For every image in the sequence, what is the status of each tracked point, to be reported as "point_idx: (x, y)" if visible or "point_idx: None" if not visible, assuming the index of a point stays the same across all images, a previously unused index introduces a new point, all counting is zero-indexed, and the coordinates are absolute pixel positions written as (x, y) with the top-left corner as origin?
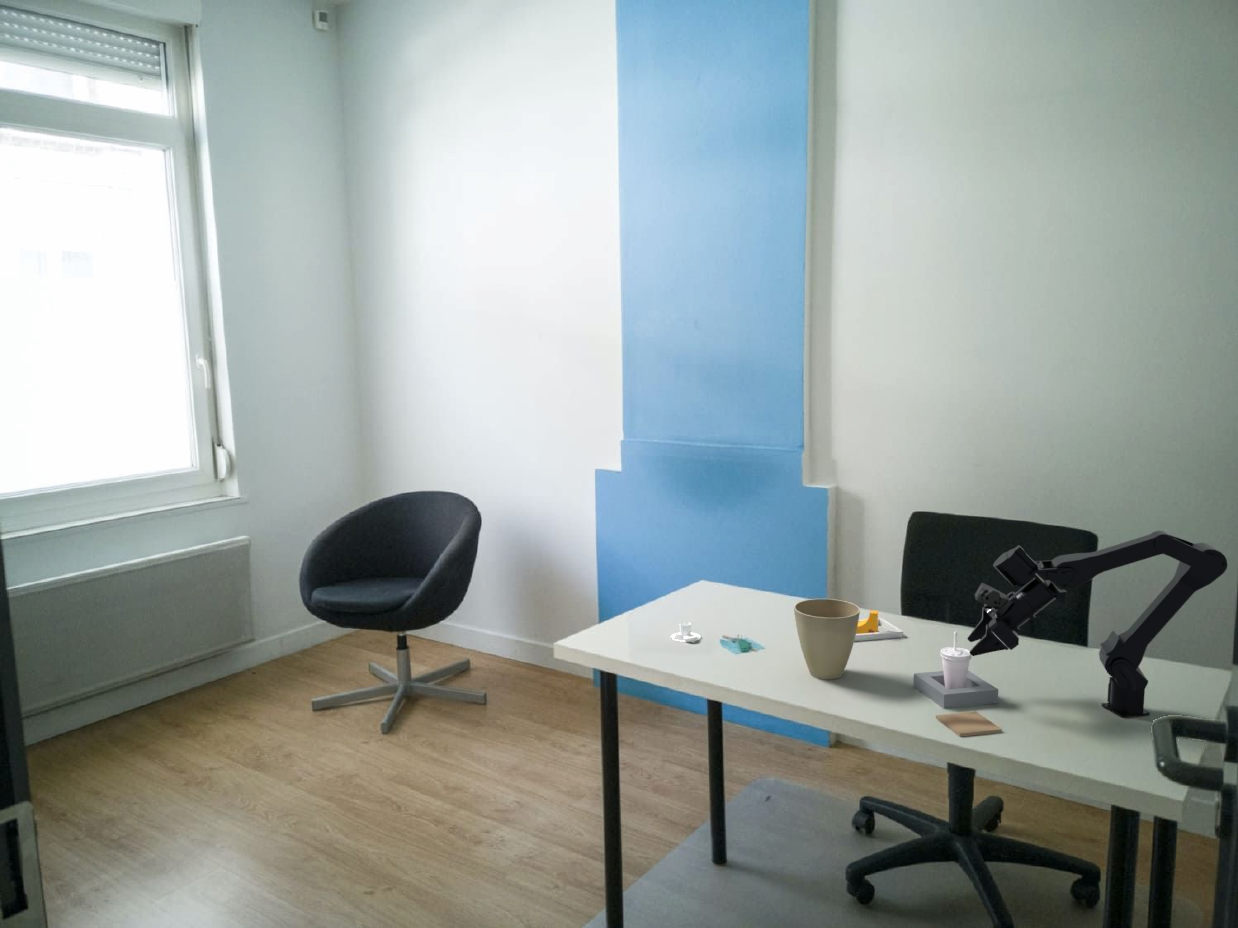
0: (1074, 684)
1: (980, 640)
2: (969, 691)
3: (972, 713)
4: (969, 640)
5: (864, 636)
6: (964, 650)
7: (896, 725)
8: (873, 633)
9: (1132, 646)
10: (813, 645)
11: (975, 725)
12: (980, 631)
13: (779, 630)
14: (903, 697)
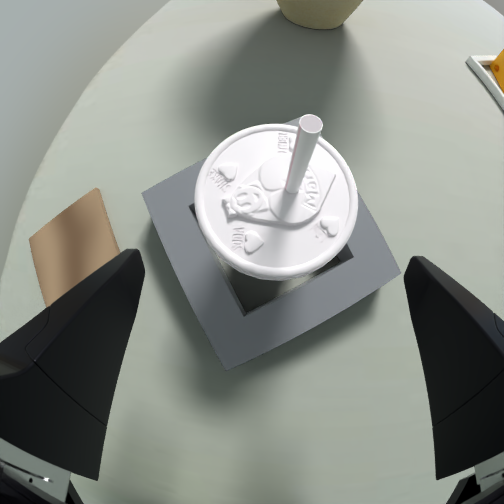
0: (390, 500)
1: (51, 315)
2: (180, 272)
3: None
4: (407, 269)
5: (500, 97)
6: (320, 241)
7: (72, 126)
8: None
9: None
10: None
11: (59, 274)
12: (448, 342)
13: (454, 18)
14: (215, 115)
